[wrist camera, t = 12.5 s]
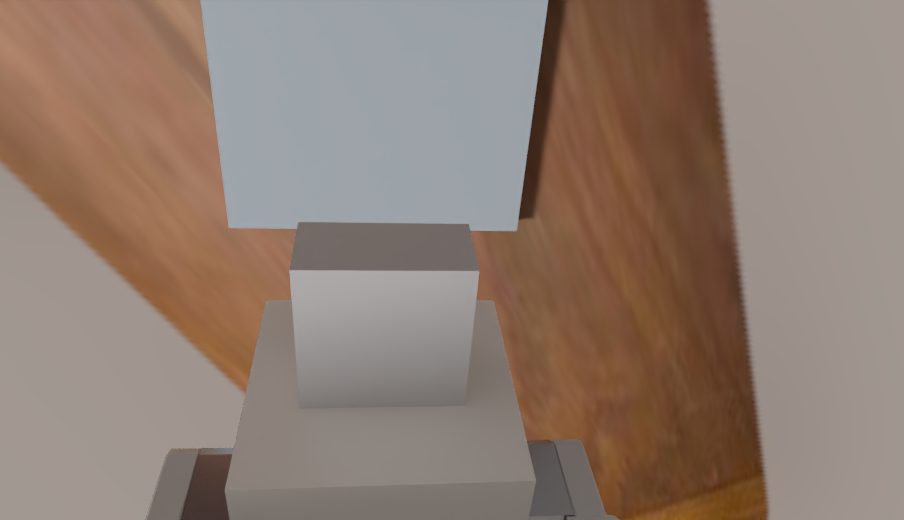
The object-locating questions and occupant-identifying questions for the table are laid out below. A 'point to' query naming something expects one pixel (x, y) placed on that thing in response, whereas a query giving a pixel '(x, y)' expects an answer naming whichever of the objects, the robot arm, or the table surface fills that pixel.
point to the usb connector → (381, 386)
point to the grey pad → (373, 109)
